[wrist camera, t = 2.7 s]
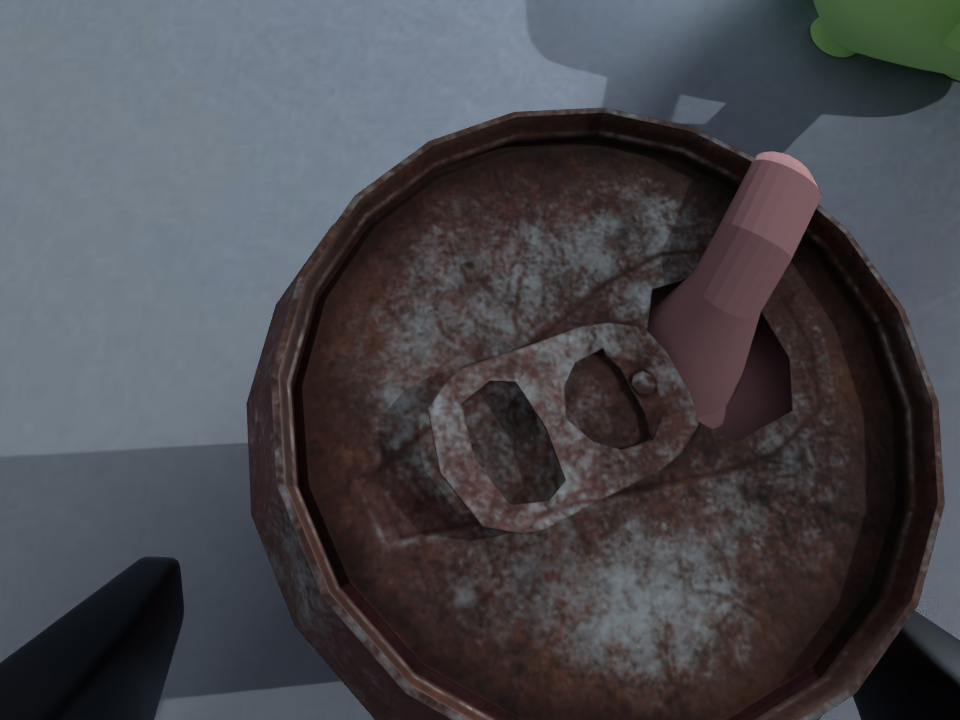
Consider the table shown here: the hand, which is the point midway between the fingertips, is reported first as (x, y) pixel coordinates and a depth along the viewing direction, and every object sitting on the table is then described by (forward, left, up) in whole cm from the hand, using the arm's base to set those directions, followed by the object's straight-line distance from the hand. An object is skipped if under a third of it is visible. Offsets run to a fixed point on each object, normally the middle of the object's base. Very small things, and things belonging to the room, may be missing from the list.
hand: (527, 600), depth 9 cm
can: (+2, 0, -10) cm, 10 cm away
